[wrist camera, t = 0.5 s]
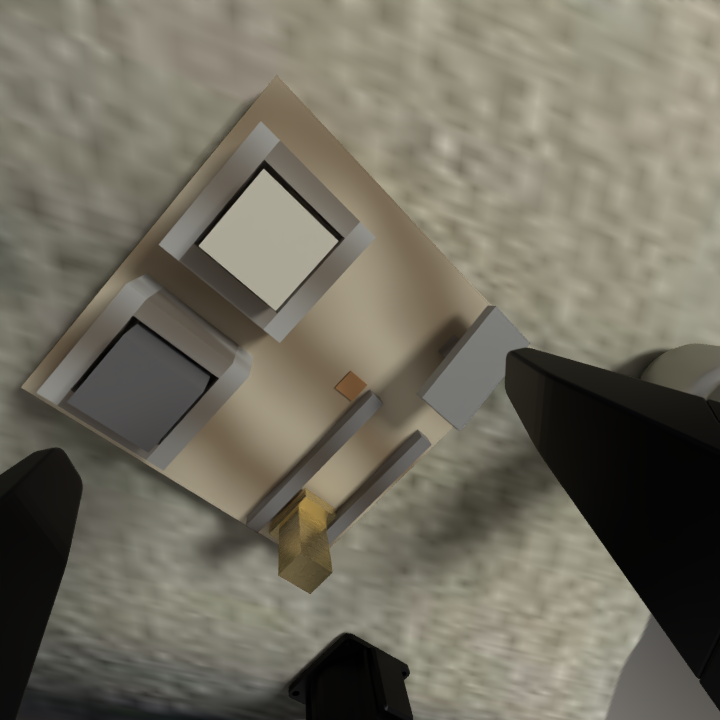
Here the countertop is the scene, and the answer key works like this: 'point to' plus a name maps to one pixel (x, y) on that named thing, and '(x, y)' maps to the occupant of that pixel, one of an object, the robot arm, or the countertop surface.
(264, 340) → the panel
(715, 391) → the plastic bottle
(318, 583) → the slider
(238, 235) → the cream button
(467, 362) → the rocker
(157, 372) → the charcoal button
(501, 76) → the countertop surface
